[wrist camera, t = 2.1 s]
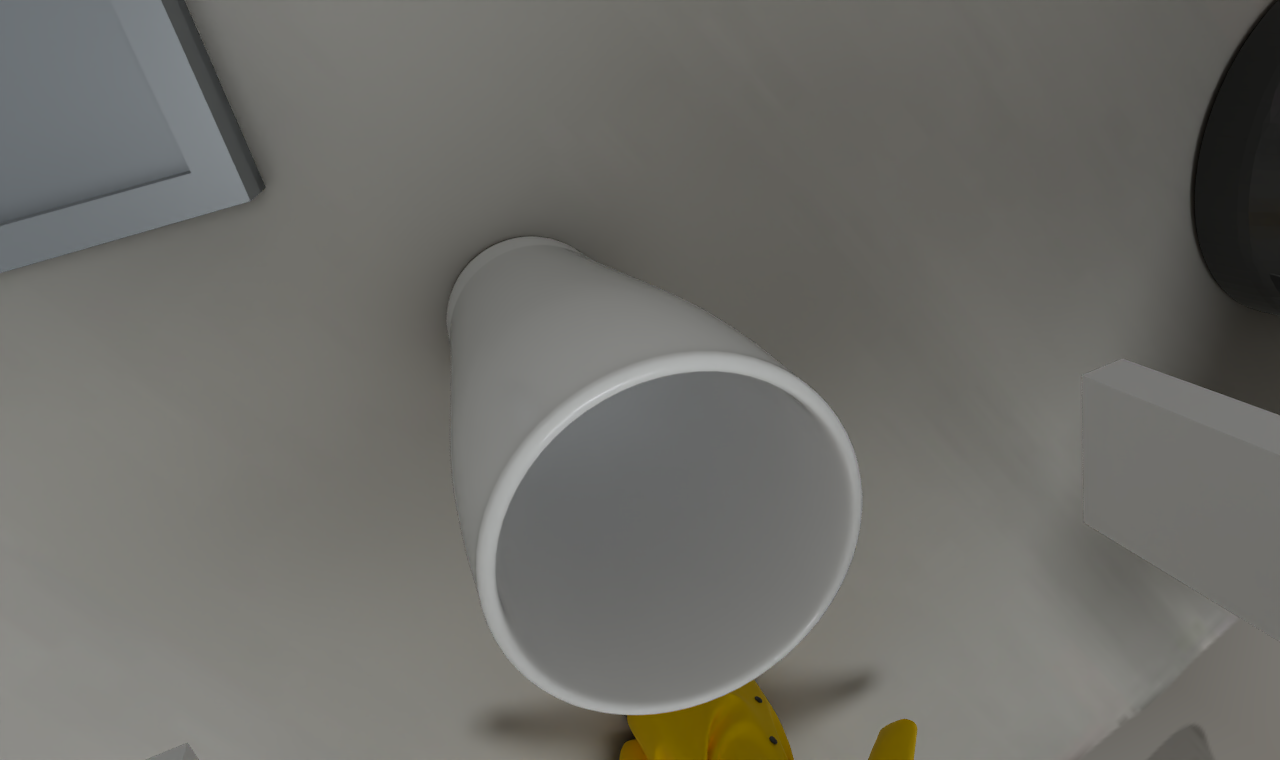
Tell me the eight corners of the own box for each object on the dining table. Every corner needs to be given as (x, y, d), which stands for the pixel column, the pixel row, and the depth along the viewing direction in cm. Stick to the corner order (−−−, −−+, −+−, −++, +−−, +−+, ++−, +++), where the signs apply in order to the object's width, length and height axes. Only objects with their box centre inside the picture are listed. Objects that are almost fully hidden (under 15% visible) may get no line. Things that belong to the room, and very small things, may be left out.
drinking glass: (389, 246, 24) (404, 442, 11) (598, 183, 26) (844, 290, 12) (461, 437, 27) (544, 784, 14) (646, 372, 28) (891, 630, 15)
